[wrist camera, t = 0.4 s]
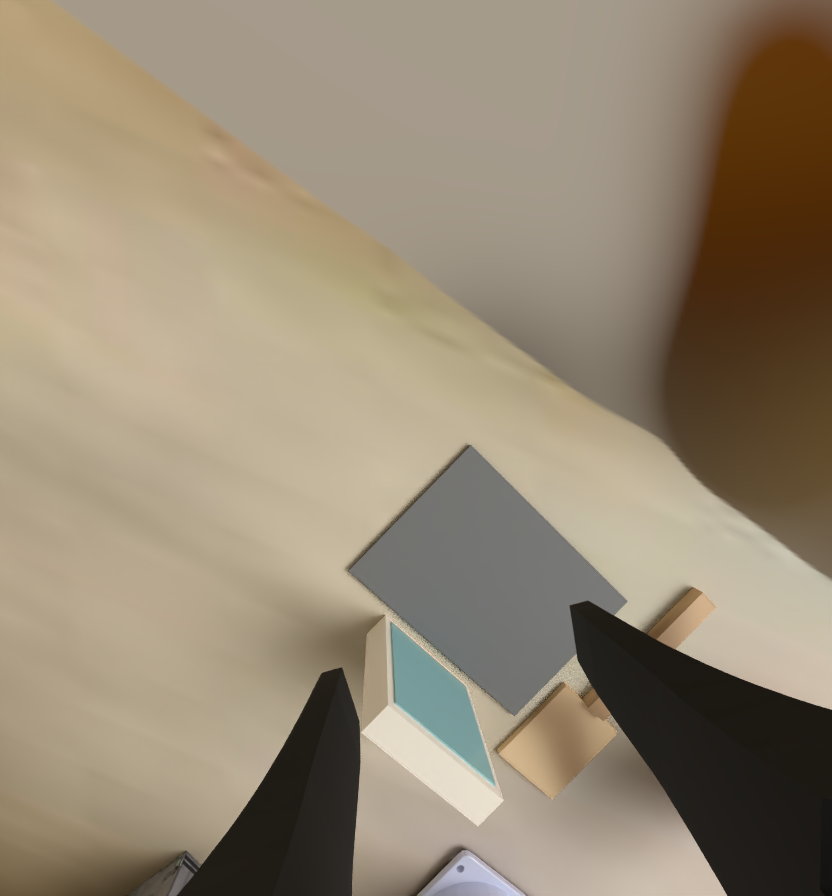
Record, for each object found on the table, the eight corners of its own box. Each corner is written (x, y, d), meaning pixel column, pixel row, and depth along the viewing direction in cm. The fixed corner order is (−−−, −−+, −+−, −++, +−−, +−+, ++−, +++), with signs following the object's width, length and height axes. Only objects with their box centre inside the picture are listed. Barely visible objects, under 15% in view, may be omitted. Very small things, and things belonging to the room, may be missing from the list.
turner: (549, 793, 25) (554, 806, 24) (496, 748, 25) (500, 759, 24) (722, 618, 25) (734, 625, 24) (674, 568, 24) (684, 573, 24)
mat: (513, 713, 24) (514, 716, 24) (348, 569, 22) (348, 571, 22) (625, 599, 24) (627, 601, 24) (470, 445, 22) (471, 445, 22)
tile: (449, 704, 24) (478, 826, 17) (366, 633, 23) (361, 732, 16) (468, 685, 24) (505, 799, 17) (386, 613, 23) (389, 703, 16)
